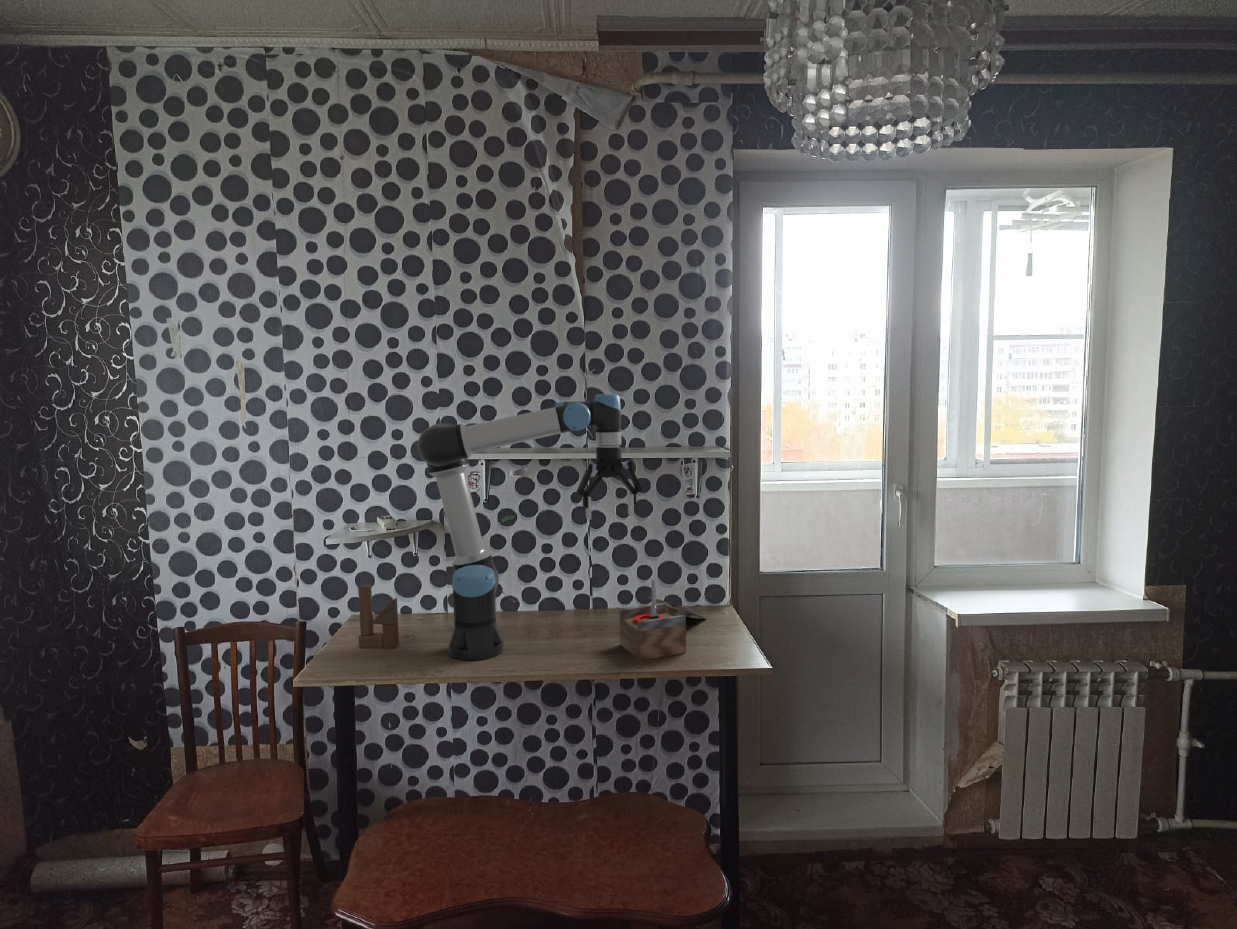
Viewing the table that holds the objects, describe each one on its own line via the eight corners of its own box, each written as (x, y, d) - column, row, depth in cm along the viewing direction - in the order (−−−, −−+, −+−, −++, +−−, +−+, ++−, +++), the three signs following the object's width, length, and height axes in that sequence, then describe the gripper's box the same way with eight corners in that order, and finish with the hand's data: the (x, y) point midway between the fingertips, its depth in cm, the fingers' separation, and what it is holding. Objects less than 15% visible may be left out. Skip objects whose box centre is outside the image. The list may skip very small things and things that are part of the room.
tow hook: (629, 620, 224) (641, 627, 215) (628, 574, 223) (639, 581, 214) (656, 616, 226) (669, 624, 218) (655, 572, 226) (668, 578, 217)
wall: (649, 629, 252) (637, 609, 240) (660, 605, 256) (648, 584, 244) (697, 644, 244) (687, 624, 233) (707, 619, 248) (697, 598, 237)
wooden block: (395, 648, 226) (392, 587, 224) (358, 648, 227) (355, 587, 225) (399, 644, 229) (396, 584, 228) (363, 644, 230) (360, 584, 228)
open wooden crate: (639, 660, 213) (639, 622, 212) (620, 644, 226) (619, 609, 224) (686, 653, 218) (685, 616, 217) (664, 638, 231) (664, 603, 230)
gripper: (642, 443, 242) (643, 511, 244) (564, 447, 233) (566, 518, 235) (652, 445, 235) (653, 515, 237) (572, 449, 226) (574, 522, 228)
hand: (610, 516), depth 236 cm, fingers open, 13 cm apart
